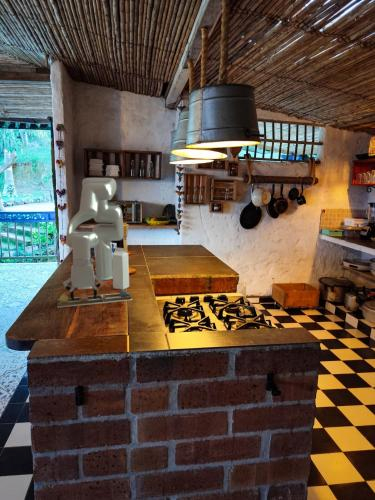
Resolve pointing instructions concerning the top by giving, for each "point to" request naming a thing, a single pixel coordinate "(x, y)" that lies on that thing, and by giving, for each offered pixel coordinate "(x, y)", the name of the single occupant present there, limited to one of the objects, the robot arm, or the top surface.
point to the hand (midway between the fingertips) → (83, 298)
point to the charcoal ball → (123, 293)
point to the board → (94, 299)
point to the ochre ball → (64, 299)
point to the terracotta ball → (83, 297)
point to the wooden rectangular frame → (115, 298)
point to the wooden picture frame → (80, 301)
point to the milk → (120, 269)
